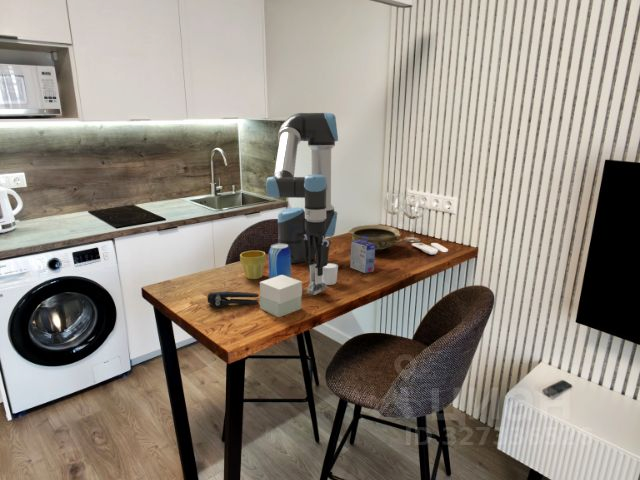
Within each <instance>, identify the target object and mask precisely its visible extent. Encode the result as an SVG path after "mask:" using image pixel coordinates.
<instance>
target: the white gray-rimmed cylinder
mask: <svg viewBox="0 0 640 480" xmlns="http://www.w3.org/2000/svg"><path fill="white" fill-rule="evenodd" d="M338 270H339V265H338V264H336V263H332V262H327V266H324V267H323V275H322V282H324V283H325V285H326V286H331V285H332V286H333V285H336V284H337V280H338V272H339V271H338Z"/></svg>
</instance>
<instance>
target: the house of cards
mask: <svg viewBox="0 0 640 480" xmlns="http://www.w3.org/2000/svg"><path fill="white" fill-rule="evenodd" d="M313 276H314V280H312V281H311V282H310V281H309V283H308V286H307V287H306V288H307V289H306V293H307V294H311V295H314V296H315V295H317V294H318V293H322V292H323V291H325V290H327V289H328V287H327V286H328V285H326V284H325V283H324V282H322V283H319V284H317V285H316V284H315V272H314V275H313ZM302 290H304V288H303V287H302Z"/></svg>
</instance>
